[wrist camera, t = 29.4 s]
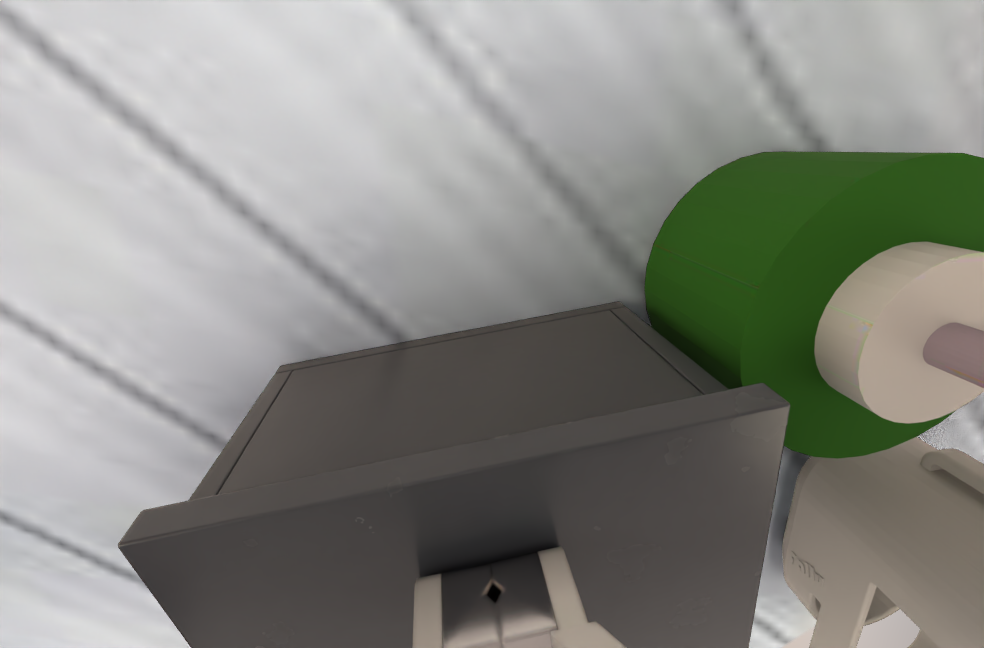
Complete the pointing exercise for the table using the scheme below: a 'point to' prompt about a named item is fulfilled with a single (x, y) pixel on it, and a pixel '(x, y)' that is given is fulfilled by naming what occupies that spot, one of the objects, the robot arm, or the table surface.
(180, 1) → the table surface
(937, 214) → the candle
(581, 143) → the table surface
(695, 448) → the chest lid
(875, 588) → the cable organizer
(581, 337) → the chest
